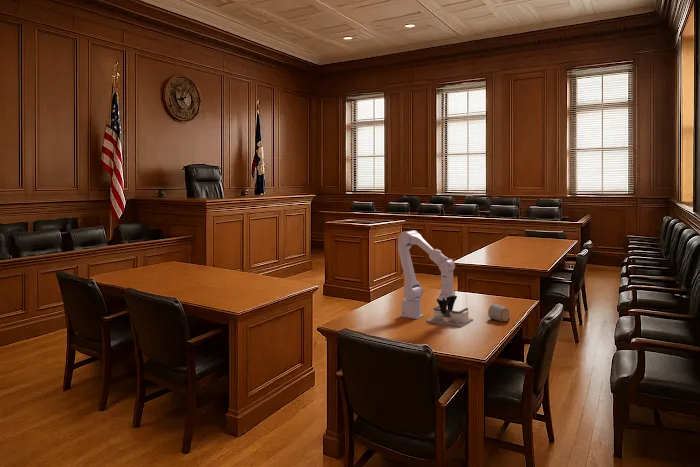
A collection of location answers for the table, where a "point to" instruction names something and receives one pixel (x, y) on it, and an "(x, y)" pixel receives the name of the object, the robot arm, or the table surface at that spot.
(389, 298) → the table surface
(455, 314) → the glasses
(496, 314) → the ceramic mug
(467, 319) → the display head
